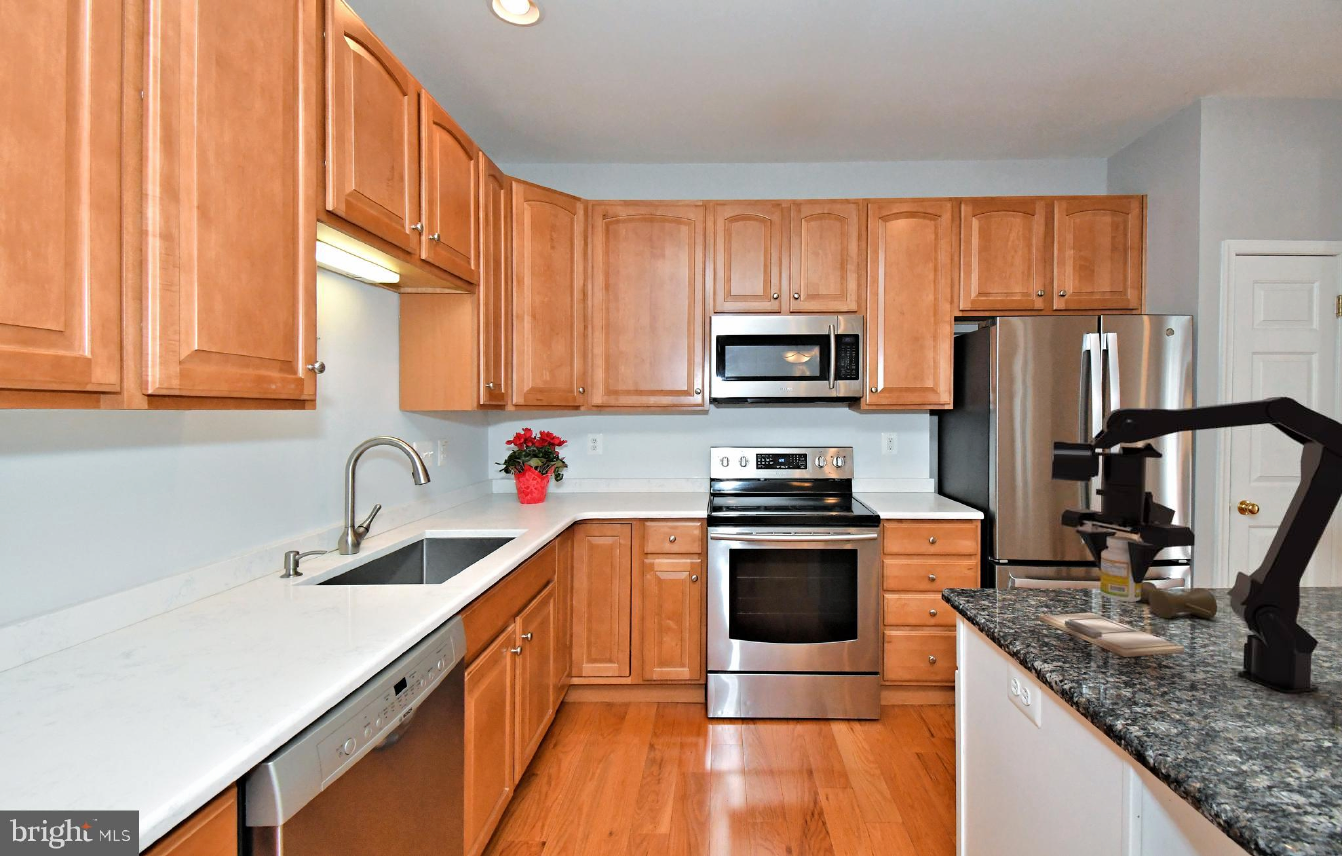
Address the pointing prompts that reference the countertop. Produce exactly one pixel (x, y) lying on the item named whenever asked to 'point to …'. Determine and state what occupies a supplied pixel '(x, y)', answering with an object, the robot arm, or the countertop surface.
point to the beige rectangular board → (1111, 634)
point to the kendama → (1179, 602)
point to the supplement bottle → (1118, 571)
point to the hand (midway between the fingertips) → (1120, 578)
